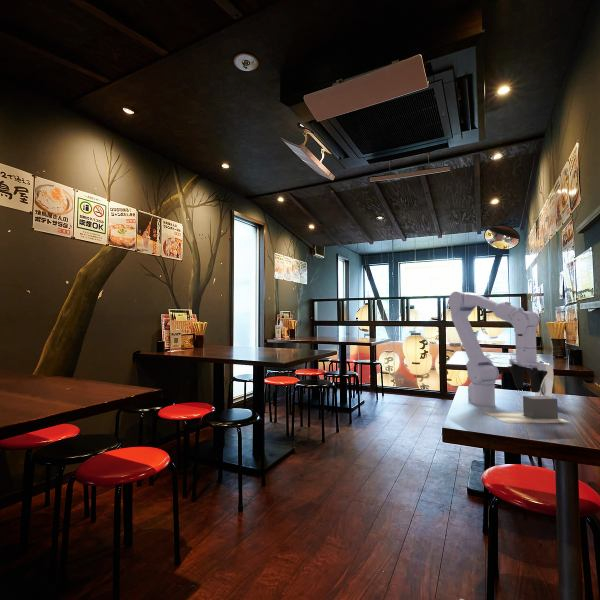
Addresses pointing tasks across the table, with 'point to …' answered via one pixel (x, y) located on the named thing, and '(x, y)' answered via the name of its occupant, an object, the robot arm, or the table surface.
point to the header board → (522, 418)
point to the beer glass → (547, 382)
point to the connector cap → (540, 407)
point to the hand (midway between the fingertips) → (527, 389)
